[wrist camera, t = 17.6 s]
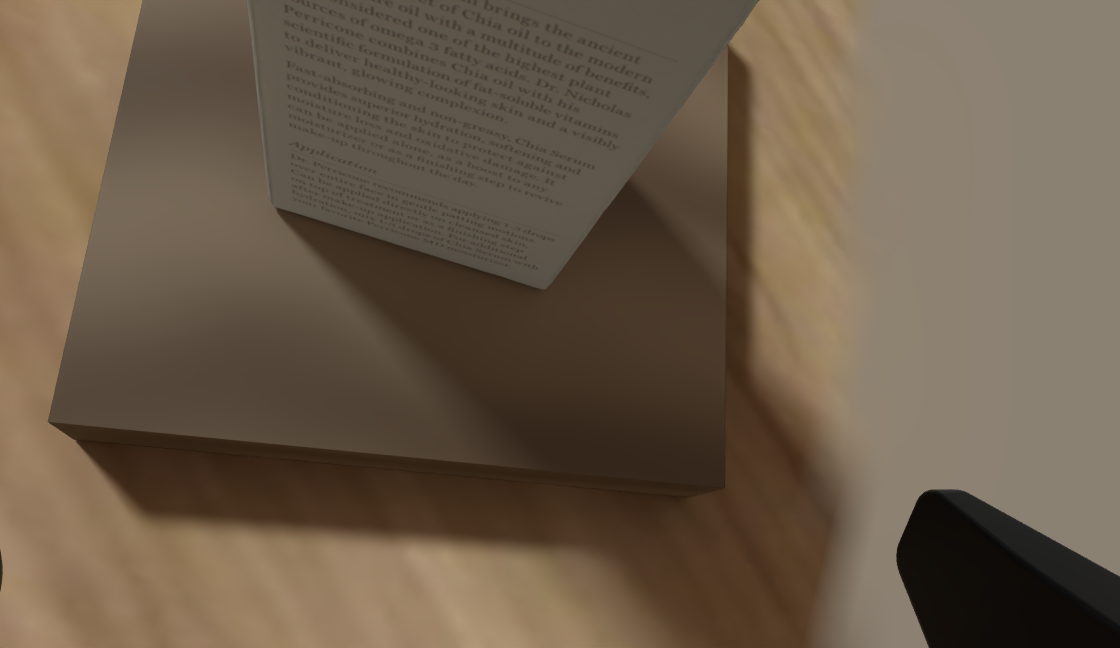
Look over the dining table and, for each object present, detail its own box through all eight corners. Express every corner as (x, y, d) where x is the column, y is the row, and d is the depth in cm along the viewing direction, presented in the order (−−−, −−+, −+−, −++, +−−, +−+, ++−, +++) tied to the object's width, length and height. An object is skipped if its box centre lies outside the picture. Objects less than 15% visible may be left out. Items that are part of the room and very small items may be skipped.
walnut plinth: (688, 497, 21) (724, 488, 20) (74, 439, 18) (47, 421, 17) (697, 12, 25) (728, -35, 23) (190, -100, 22) (179, -163, 20)
